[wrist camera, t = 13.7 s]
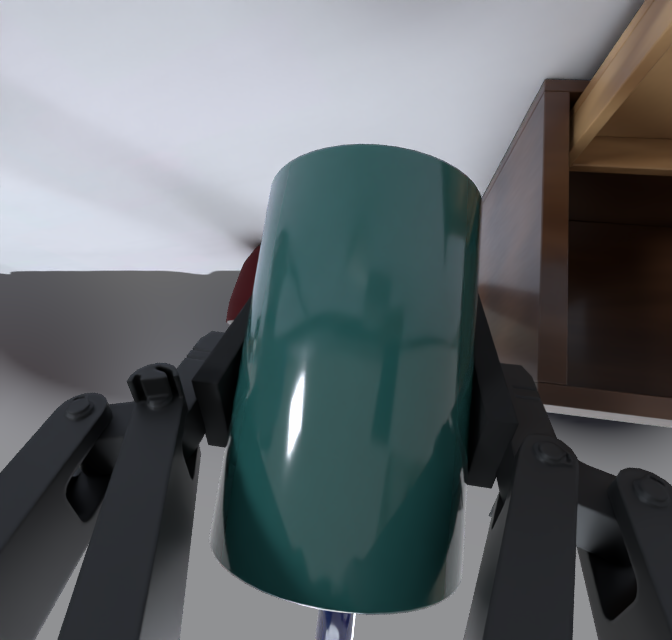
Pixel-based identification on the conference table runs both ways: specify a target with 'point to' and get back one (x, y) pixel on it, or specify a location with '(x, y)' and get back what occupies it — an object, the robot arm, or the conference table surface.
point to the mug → (243, 286)
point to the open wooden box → (579, 273)
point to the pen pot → (355, 388)
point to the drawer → (629, 102)
